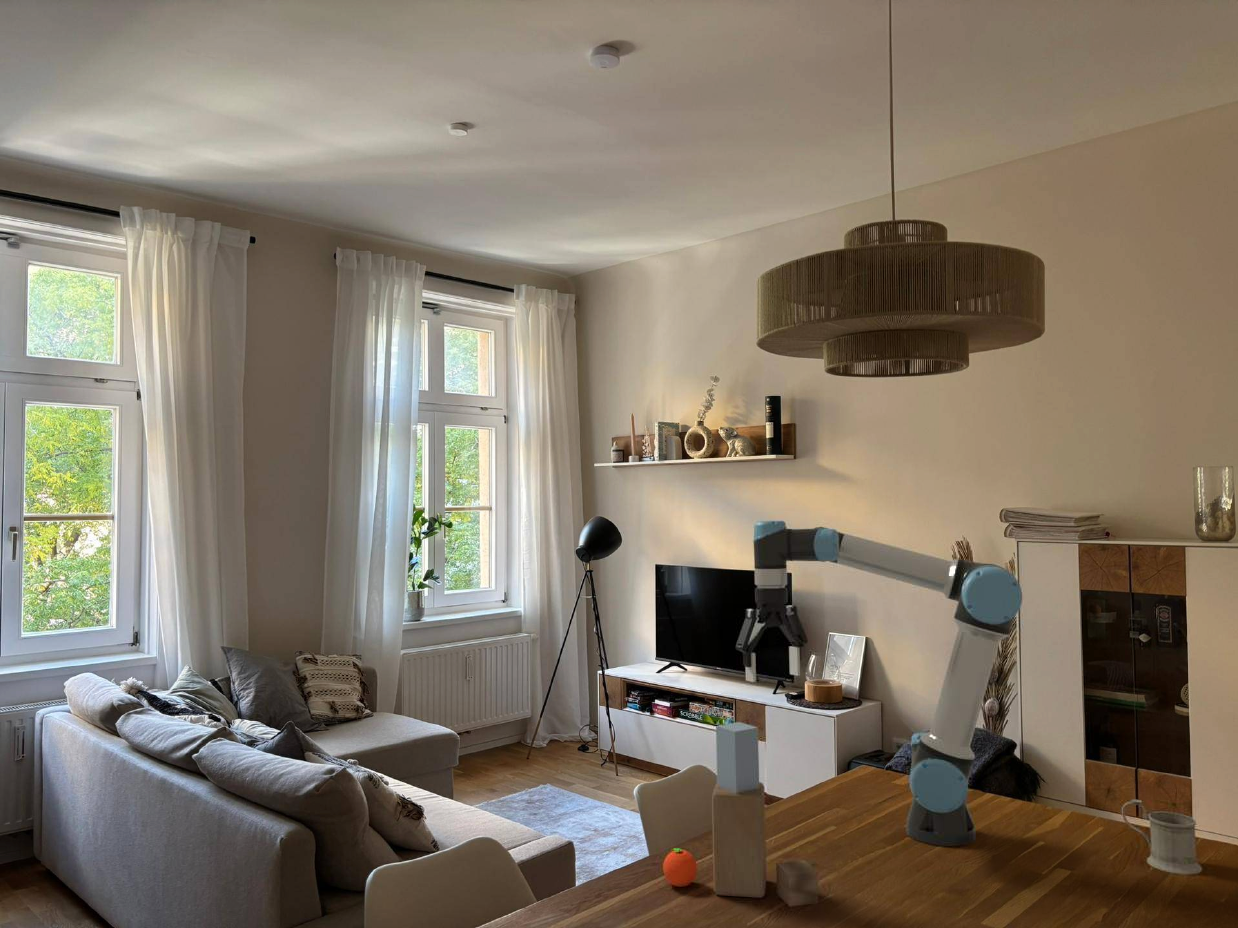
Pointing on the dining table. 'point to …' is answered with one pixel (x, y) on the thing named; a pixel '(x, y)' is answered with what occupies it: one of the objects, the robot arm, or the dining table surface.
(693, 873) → the clementine
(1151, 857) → the mug
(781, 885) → the walnut cube
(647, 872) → the dining table surface
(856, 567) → the robot arm
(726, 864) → the block
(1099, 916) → the dining table surface
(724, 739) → the slate block
